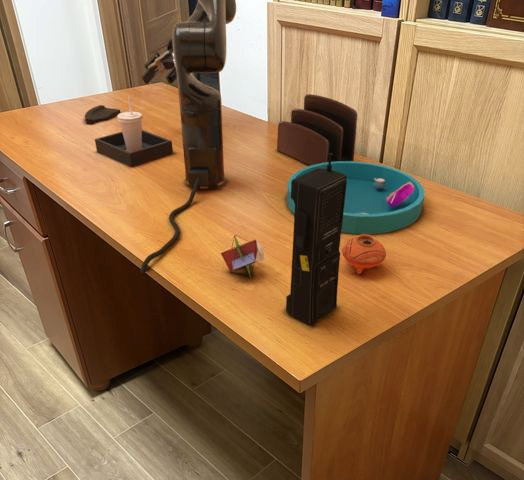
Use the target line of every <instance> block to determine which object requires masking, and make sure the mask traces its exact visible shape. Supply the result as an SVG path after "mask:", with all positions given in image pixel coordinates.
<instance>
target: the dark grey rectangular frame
mask: <svg viewBox="0 0 524 480" xmlns="http://www.w3.org/2000/svg"><path fill="white" fill-rule="evenodd" d="M94 143H95V148H96V153H99V154H101V155H103V156H106V157H108V158H110V159H112V160H115V161H116V162H119V163H120V164H123V165H126V166H128V167H130V168H134V167H137V166H140V165H143V164H146V163H148V162H151V161H155V160H159V159H160V158H164V157H167V156H170V155H173V154H174V150H173V149H174V148H173V141H172V140H171V139H169V138H165V137H162V136H160V135H157V134H154V133H152V132H149V131H147V130H144V129H142V149H140V150H137V151H133V152H128V151H127V148H126V144H125V140H124V137H123V133H122V131H119V132H116V133H111V134H108V135H105V136H100V137H98V138H94Z"/></svg>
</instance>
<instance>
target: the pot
mask: <svg viewBox="0 0 524 480" xmlns="http://www.w3.org/2000/svg"><path fill="white" fill-rule="evenodd" d="M341 253H342V257H343V258H344V259H345V261H346V262H348V263H349V264H350V265H351V266H354V268H355V272H356V275H361V273H362V272H363V271H364V269H370V268H374V267H375V268H379V266H380V265H381V263H383V262H384V261H385V259H386V257H387V251H386V249H385V247H384V244H382V242H380V241H379V240H378V239H377V238H375V237H374V236H373V234H358V235H357V236H354V237H352V238H349V239H348V240H347V241H346V242H345V244H344V245H343V246H342V248H341Z"/></svg>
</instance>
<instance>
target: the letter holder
mask: <svg viewBox="0 0 524 480" xmlns="http://www.w3.org/2000/svg"><path fill="white" fill-rule="evenodd" d="M357 122H358V113H357V110H356V109H354V108H352V107H351V106H349V105H347V104H345V103H343V102H341V101H338V100H335V99H332V98H329V97H326V96H322V95H317V94H310V93H307V94H305V95H304V97H303V109H302V108H293V109H292V110H291V112H290V121H285V120H281V121H278V124H277V140H276V151H278V152H280V153H282V154H284V155H286V156H288V157H291V158H293V159H295V160H297V161H299V162H301V163H303V164H305V165H307V166H311V165H315V164H320V163H326V162H329V155H328V153H333V155H331V162H336V161H355V149H356V148H355V147H356V137H357V125H358V123H357Z"/></svg>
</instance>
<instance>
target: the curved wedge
mask: <svg viewBox="0 0 524 480" xmlns="http://www.w3.org/2000/svg"><path fill="white" fill-rule="evenodd" d="M120 113H121V109H118V108H110V107H107V106H105V105H102V104H99V105H97V106H94V107H92V108H90V109H88V110H87V111H86V112H85V114H84V118H85V123H86V124H88V125H92V124H96V123H99V122H103V121H108V120H110V119H112V118H113V117H116V116H117V115H118V114H120Z"/></svg>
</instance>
